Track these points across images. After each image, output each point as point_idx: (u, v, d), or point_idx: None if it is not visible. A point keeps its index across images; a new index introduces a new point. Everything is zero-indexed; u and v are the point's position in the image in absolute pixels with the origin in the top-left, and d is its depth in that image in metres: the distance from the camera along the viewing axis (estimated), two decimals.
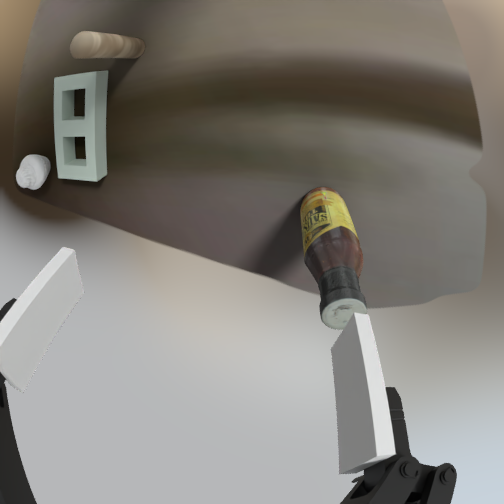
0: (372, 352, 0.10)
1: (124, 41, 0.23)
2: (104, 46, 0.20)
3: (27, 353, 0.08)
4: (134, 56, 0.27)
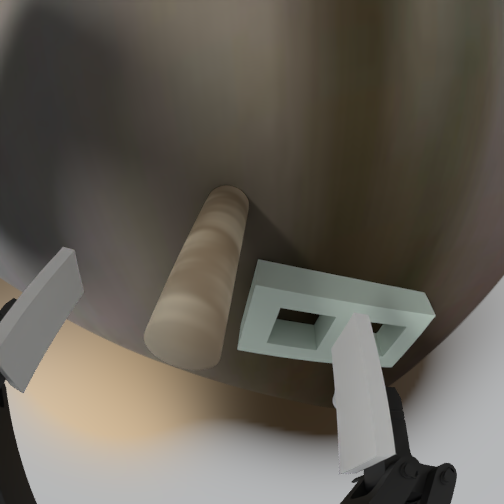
0: (372, 352, 0.10)
1: (206, 227, 0.14)
2: (205, 282, 0.11)
3: (27, 353, 0.08)
4: (245, 207, 0.18)
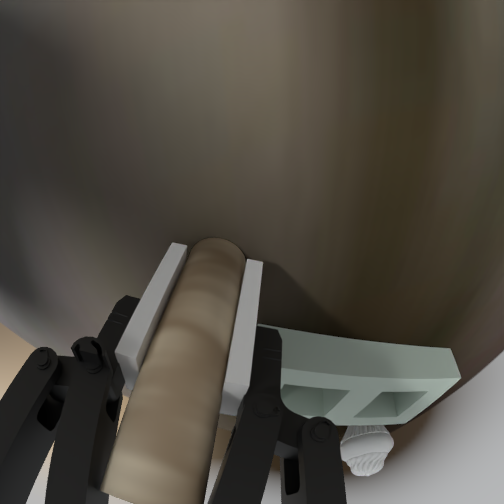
0: (253, 291, 0.12)
1: (179, 323, 0.10)
2: (174, 436, 0.06)
3: None
4: (240, 272, 0.14)
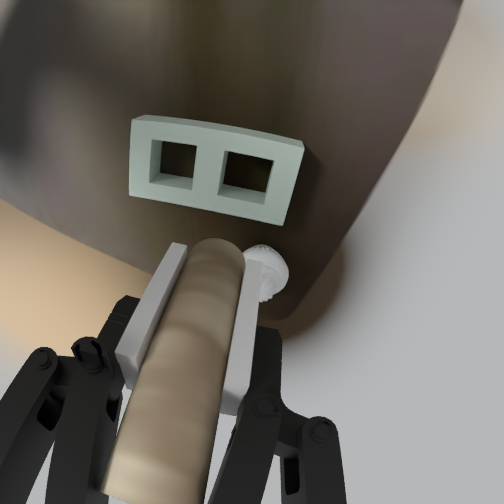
0: (253, 291, 0.12)
1: (179, 324, 0.09)
2: (173, 437, 0.06)
3: None
4: (240, 272, 0.14)
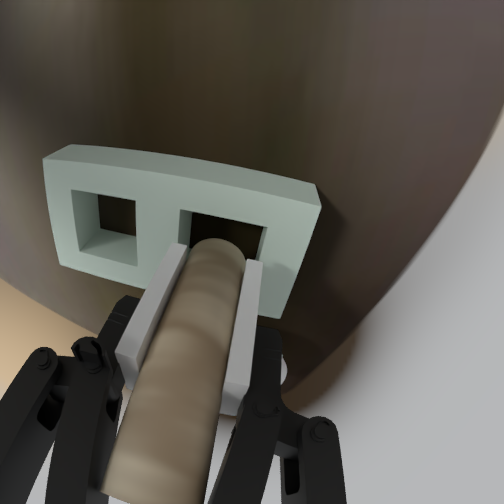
0: (253, 291, 0.12)
1: (179, 324, 0.10)
2: (174, 437, 0.06)
3: None
4: (240, 272, 0.14)
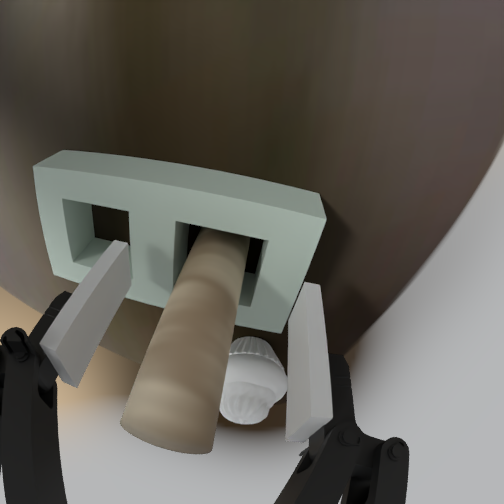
0: (318, 318, 0.11)
1: (195, 277, 0.12)
2: (192, 363, 0.08)
3: (83, 346, 0.09)
4: (246, 243, 0.16)
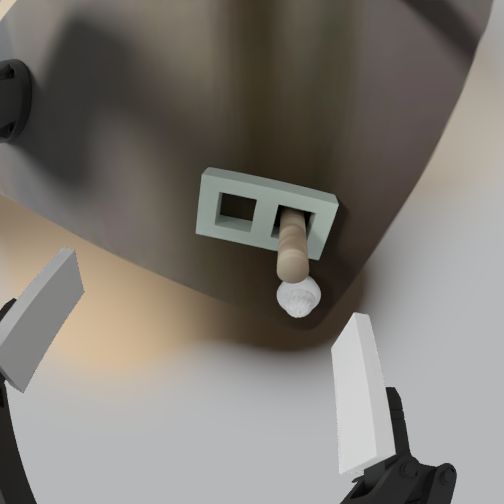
0: (372, 352, 0.10)
1: (291, 224, 0.31)
2: (300, 245, 0.28)
3: (27, 353, 0.08)
4: None
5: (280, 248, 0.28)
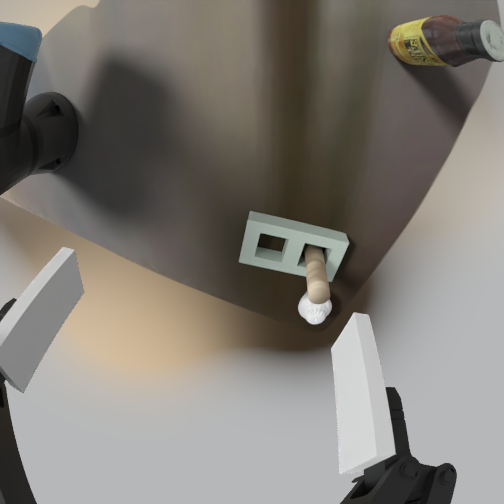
0: (372, 352, 0.10)
1: (315, 259, 0.42)
2: (323, 277, 0.39)
3: (27, 353, 0.08)
4: None
5: (309, 279, 0.39)
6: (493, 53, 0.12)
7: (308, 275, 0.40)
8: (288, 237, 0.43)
